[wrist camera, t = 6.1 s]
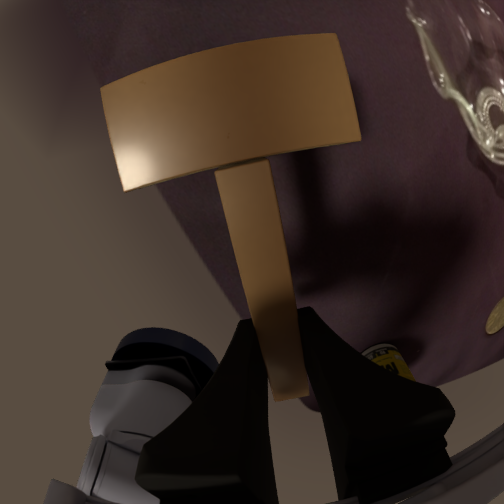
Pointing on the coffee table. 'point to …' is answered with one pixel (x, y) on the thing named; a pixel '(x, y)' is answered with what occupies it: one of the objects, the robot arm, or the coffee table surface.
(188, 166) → the brown t-shaped piece
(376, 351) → the supplement bottle
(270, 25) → the coffee table surface
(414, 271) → the coffee table surface
